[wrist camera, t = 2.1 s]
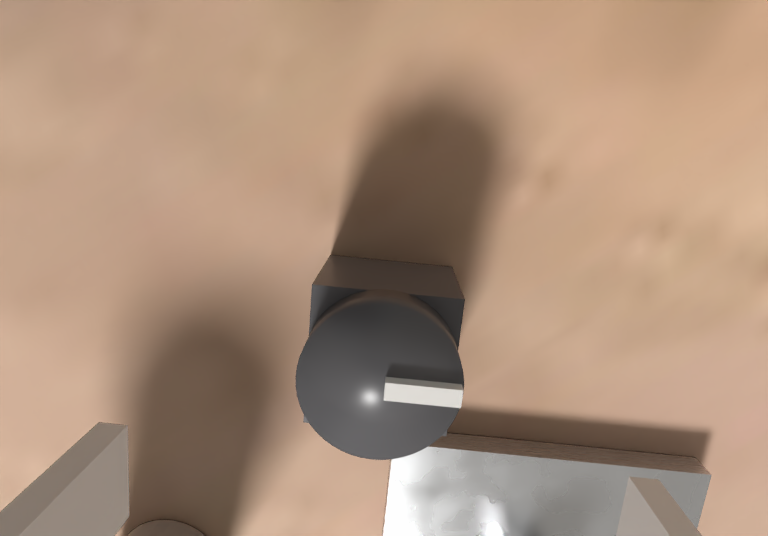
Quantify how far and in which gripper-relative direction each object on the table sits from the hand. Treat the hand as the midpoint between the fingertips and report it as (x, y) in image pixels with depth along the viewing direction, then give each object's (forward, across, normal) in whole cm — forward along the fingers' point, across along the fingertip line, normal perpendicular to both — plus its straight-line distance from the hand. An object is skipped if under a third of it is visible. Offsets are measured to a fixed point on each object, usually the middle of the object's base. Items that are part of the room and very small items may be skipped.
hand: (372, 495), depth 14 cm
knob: (+13, 0, 0) cm, 13 cm away
